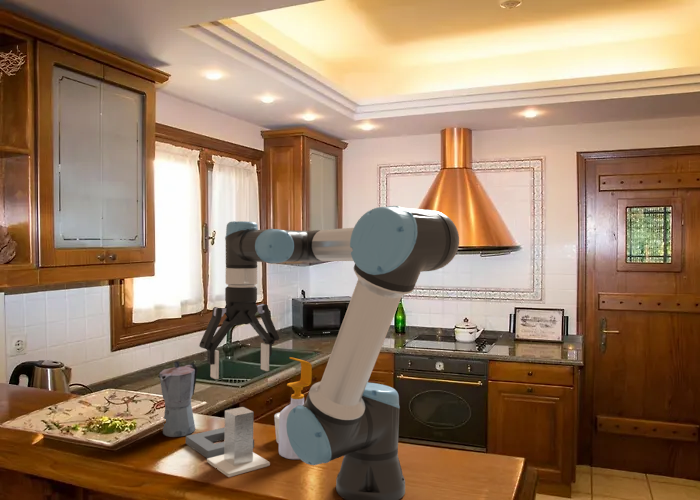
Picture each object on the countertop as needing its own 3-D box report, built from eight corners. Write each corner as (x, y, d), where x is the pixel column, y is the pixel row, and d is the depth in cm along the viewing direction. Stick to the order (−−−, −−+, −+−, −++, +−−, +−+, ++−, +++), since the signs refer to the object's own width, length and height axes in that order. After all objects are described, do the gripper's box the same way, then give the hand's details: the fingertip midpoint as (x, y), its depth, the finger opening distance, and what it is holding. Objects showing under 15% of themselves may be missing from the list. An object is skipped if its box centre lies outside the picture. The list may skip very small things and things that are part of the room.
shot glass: (301, 436, 155) (301, 411, 155) (296, 445, 149) (297, 419, 148) (277, 435, 156) (277, 410, 156) (271, 444, 149) (271, 418, 149)
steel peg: (252, 461, 136) (253, 411, 135) (234, 466, 133) (235, 415, 132) (242, 454, 140) (243, 406, 139) (224, 459, 136) (224, 410, 136)
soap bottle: (271, 452, 144) (273, 356, 143) (300, 444, 150) (302, 352, 149) (292, 463, 137) (294, 362, 137) (321, 454, 143) (323, 358, 143)
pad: (269, 465, 135) (269, 462, 135) (228, 477, 128) (228, 473, 128) (246, 451, 144) (246, 448, 144) (206, 461, 137) (206, 458, 137)
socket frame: (254, 447, 147) (254, 439, 147) (207, 459, 139) (208, 450, 138) (230, 433, 157) (230, 426, 157) (185, 443, 148) (185, 436, 148)
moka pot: (147, 438, 152) (148, 364, 151) (180, 420, 166) (181, 353, 166) (177, 442, 149) (179, 367, 148) (208, 424, 164) (209, 356, 163)
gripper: (276, 282, 146) (276, 364, 146) (185, 286, 130) (184, 378, 130) (293, 284, 140) (292, 369, 141) (199, 289, 124) (198, 384, 124)
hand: (240, 374), depth 135 cm, fingers open, 13 cm apart
